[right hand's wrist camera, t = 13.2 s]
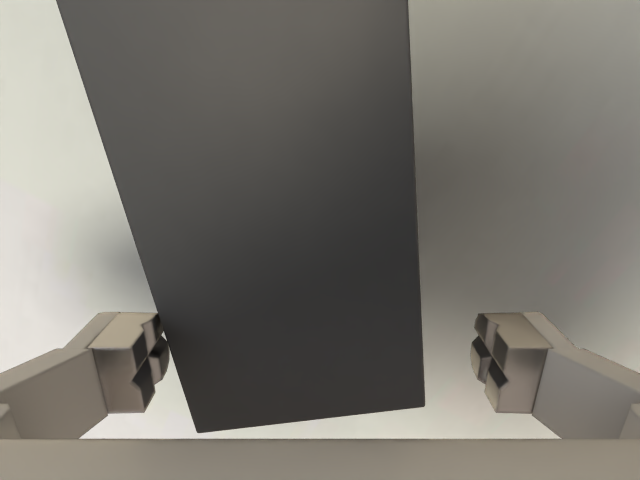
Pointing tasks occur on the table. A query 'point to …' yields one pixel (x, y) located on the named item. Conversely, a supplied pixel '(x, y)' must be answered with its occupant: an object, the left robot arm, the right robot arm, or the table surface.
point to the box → (267, 195)
